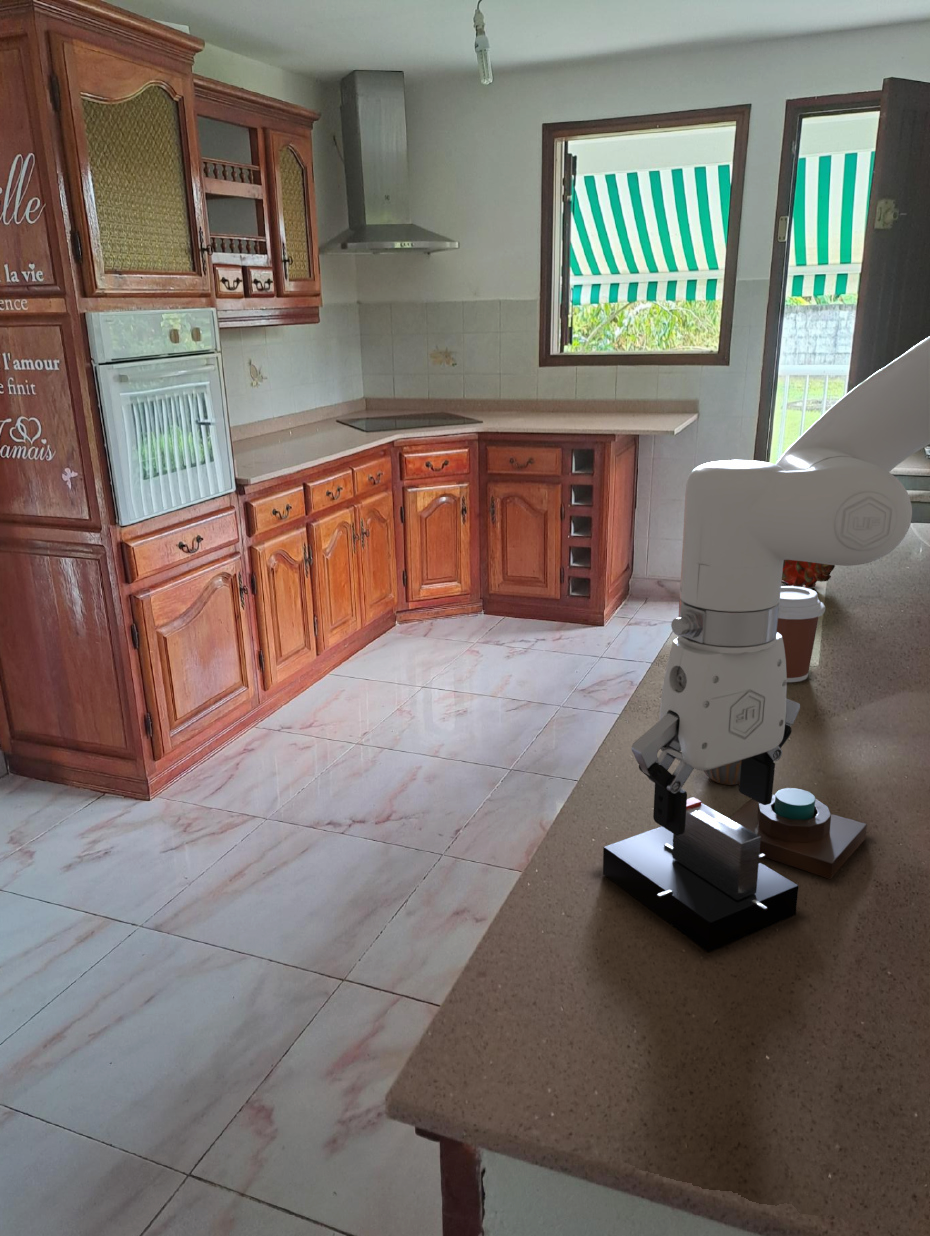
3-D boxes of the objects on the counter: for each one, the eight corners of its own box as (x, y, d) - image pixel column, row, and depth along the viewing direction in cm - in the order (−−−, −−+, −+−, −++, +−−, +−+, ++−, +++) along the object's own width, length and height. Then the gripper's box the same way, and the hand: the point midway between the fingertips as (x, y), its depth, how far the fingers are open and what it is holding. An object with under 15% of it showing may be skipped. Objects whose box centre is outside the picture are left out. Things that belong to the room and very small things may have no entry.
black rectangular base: (815, 917, 82) (818, 886, 81) (707, 965, 77) (709, 932, 76) (692, 841, 95) (694, 813, 94) (593, 877, 90) (593, 848, 89)
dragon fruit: (837, 598, 173) (767, 603, 178) (837, 562, 177) (769, 568, 183) (833, 568, 167) (761, 574, 172) (833, 531, 171) (763, 538, 177)
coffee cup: (786, 659, 141) (792, 580, 137) (832, 678, 133) (841, 595, 129) (736, 670, 138) (741, 589, 134) (780, 690, 130) (788, 605, 126)
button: (819, 810, 93) (821, 794, 92) (804, 825, 91) (806, 809, 90) (783, 800, 95) (784, 784, 95) (768, 814, 93) (769, 798, 92)
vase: (721, 758, 112) (726, 688, 109) (773, 778, 107) (779, 705, 103) (682, 776, 108) (686, 704, 105) (734, 797, 103) (739, 722, 100)
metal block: (756, 893, 81) (761, 833, 79) (737, 901, 80) (741, 841, 78) (690, 851, 88) (693, 795, 86) (671, 858, 87) (674, 802, 85)
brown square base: (865, 839, 94) (869, 807, 92) (830, 879, 88) (834, 846, 86) (757, 806, 101) (759, 777, 100) (717, 842, 95) (719, 810, 93)
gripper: (675, 655, 69) (663, 861, 75) (843, 614, 76) (820, 805, 82) (609, 628, 75) (603, 820, 81) (770, 593, 82) (754, 772, 88)
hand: (712, 812), depth 82 cm, fingers open, 9 cm apart
